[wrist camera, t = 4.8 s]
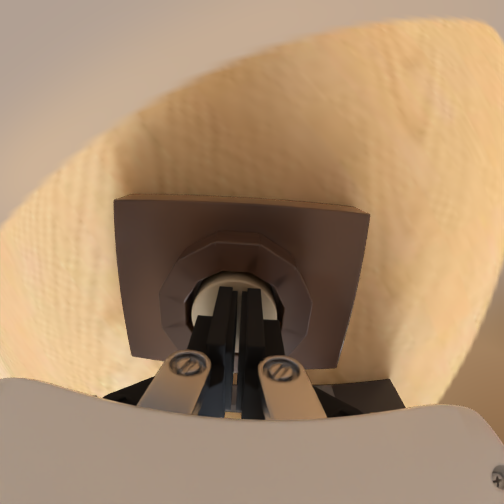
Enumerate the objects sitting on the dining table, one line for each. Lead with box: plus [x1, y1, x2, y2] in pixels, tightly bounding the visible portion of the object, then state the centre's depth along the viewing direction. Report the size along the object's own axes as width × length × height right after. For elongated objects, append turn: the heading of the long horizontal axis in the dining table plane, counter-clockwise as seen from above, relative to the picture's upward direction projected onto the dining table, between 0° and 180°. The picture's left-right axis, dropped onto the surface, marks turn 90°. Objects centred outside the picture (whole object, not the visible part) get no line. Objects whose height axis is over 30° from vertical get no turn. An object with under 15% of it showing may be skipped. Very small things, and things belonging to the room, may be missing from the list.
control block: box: [114, 194, 370, 373], centre depth 14 cm, size 12×9×4 cm
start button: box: [191, 271, 277, 352], centre depth 12 cm, size 4×4×2 cm
